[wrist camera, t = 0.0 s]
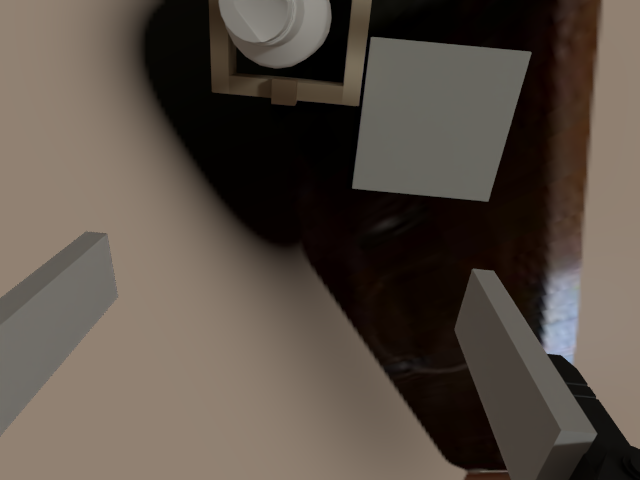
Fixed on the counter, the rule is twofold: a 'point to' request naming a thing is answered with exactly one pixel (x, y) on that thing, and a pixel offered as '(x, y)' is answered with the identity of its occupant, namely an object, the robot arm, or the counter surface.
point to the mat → (436, 117)
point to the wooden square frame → (284, 87)
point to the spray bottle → (277, 29)
